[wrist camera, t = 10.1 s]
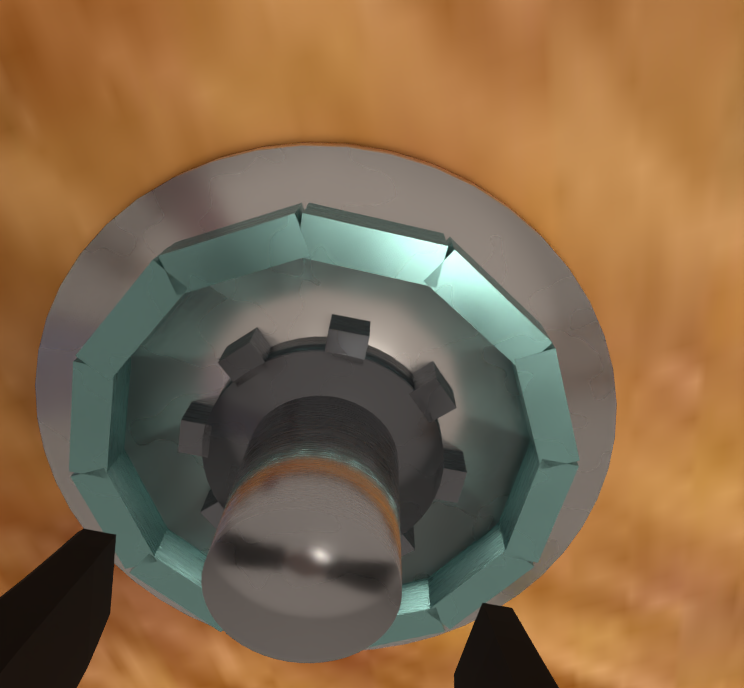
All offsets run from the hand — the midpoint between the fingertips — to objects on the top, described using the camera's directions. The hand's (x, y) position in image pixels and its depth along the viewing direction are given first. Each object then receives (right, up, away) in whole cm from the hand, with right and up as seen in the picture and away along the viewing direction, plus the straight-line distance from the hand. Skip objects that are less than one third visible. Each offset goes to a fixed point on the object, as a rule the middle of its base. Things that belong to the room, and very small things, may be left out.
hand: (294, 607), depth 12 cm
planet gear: (0, +2, +5) cm, 6 cm away
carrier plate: (0, +3, +6) cm, 7 cm away
